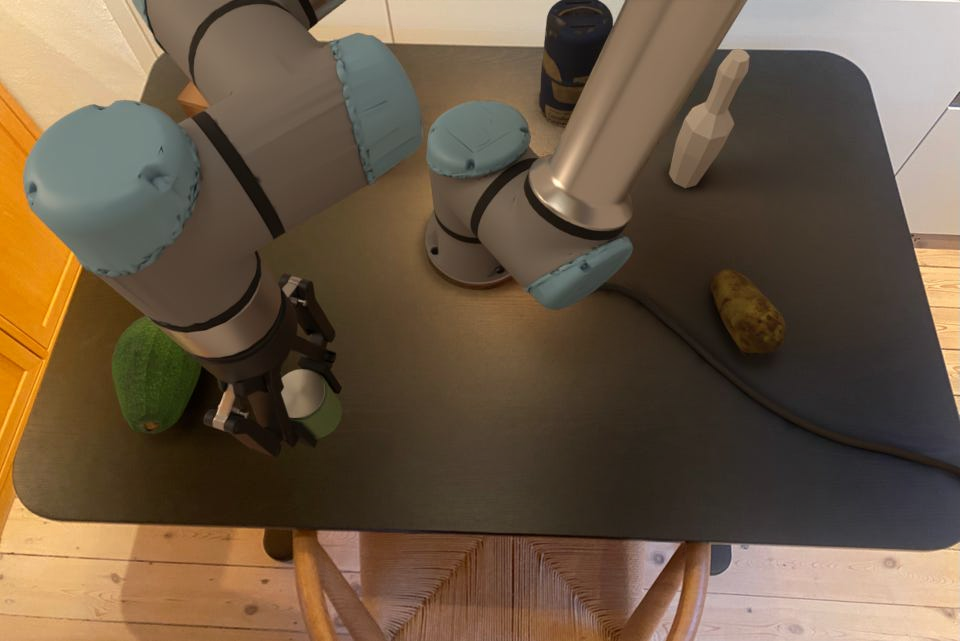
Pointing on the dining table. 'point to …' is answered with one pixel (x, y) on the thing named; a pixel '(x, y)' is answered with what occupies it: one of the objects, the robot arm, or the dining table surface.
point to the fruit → (152, 377)
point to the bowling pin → (708, 123)
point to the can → (311, 402)
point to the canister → (571, 53)
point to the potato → (747, 313)
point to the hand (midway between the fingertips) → (316, 413)
